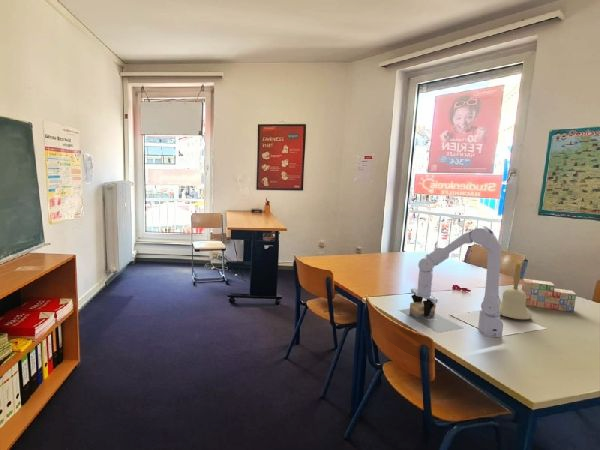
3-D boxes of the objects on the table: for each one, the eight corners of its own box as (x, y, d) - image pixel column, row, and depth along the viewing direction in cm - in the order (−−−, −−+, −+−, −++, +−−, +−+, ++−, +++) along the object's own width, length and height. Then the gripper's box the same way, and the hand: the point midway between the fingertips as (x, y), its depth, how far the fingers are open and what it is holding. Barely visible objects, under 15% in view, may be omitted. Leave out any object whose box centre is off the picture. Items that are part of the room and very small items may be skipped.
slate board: (463, 330, 142) (463, 327, 142) (437, 335, 137) (438, 332, 137) (422, 309, 164) (422, 306, 164) (398, 312, 159) (398, 310, 158)
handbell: (521, 325, 150) (529, 269, 146) (486, 313, 162) (492, 261, 159) (537, 318, 158) (545, 265, 155) (503, 307, 171) (509, 258, 167)
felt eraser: (426, 311, 159) (427, 300, 158) (434, 315, 154) (435, 304, 153) (409, 313, 155) (410, 303, 154) (417, 318, 150) (418, 307, 149)
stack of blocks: (570, 308, 172) (573, 284, 171) (573, 312, 167) (577, 288, 165) (520, 300, 181) (523, 278, 180) (522, 304, 176) (525, 281, 174)
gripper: (406, 280, 157) (404, 308, 159) (429, 290, 144) (426, 320, 146) (418, 278, 160) (416, 306, 162) (442, 288, 147) (439, 318, 149)
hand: (422, 313), depth 154 cm, fingers closed on felt eraser, 5 cm apart
